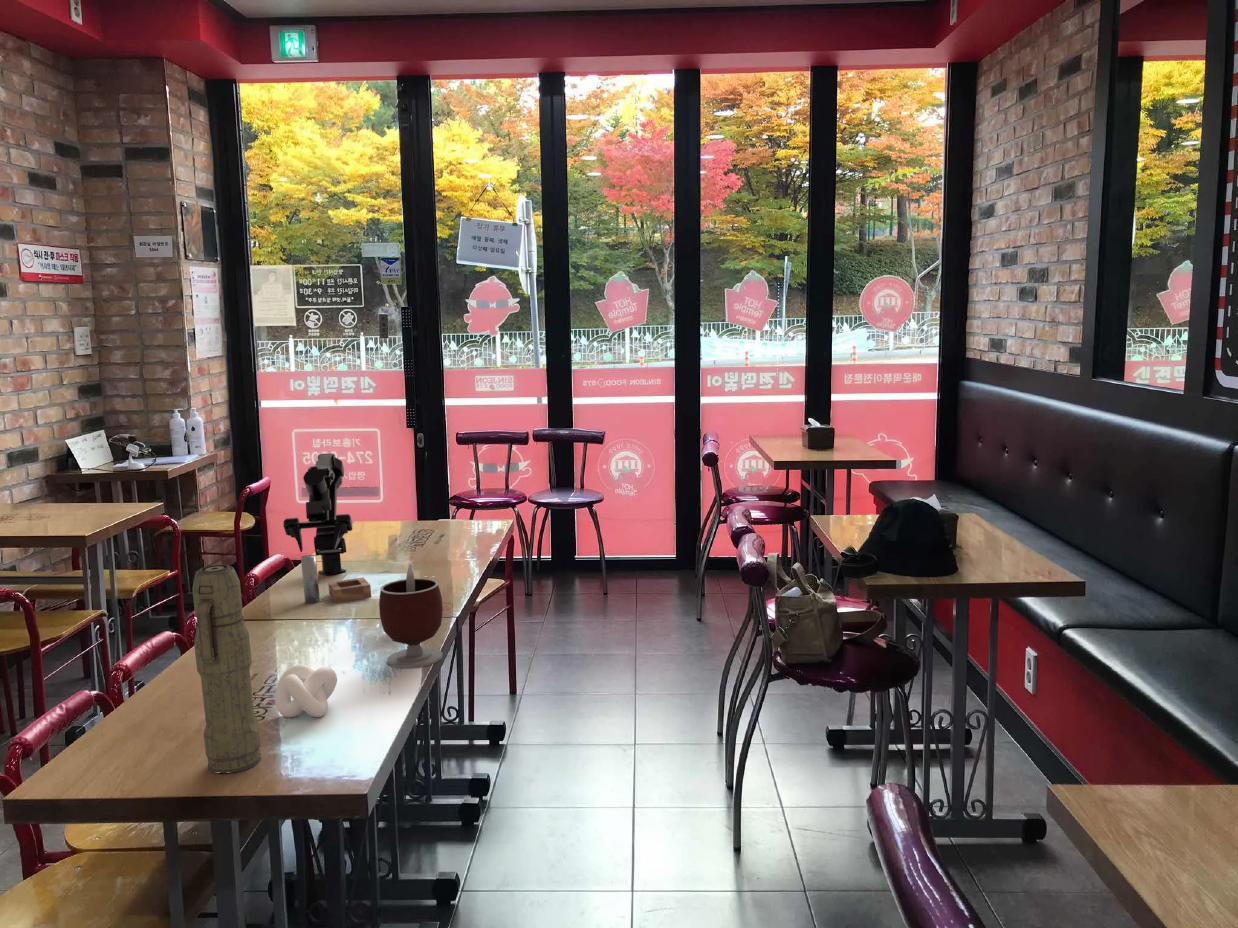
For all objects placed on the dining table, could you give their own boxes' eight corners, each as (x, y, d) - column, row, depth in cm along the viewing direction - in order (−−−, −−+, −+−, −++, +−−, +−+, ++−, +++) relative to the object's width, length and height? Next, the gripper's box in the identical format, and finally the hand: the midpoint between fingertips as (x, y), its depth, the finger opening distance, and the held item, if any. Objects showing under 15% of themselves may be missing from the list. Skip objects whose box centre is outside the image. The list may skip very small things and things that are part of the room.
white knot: (340, 720, 187) (336, 675, 186) (274, 730, 184) (269, 684, 182) (339, 699, 198) (335, 657, 196) (277, 708, 194) (273, 665, 193)
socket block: (329, 594, 280) (328, 582, 279) (364, 588, 284) (363, 577, 283) (335, 602, 271) (334, 590, 270) (371, 596, 275) (370, 584, 274)
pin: (302, 601, 273) (298, 556, 271) (315, 598, 275) (311, 554, 274) (309, 604, 270) (304, 558, 268) (322, 601, 273) (318, 556, 271)
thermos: (196, 780, 164) (174, 578, 159) (220, 750, 175) (199, 561, 170) (250, 776, 164) (229, 575, 159) (270, 746, 176) (251, 558, 171)
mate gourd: (445, 665, 215) (439, 578, 212) (381, 672, 213) (374, 583, 210) (446, 644, 230) (440, 561, 227) (386, 649, 228) (379, 566, 225)
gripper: (280, 491, 279) (278, 538, 271) (347, 487, 282) (347, 533, 274) (288, 511, 288) (285, 557, 280) (352, 506, 291) (352, 552, 283)
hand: (317, 550), depth 279 cm, fingers open, 9 cm apart
